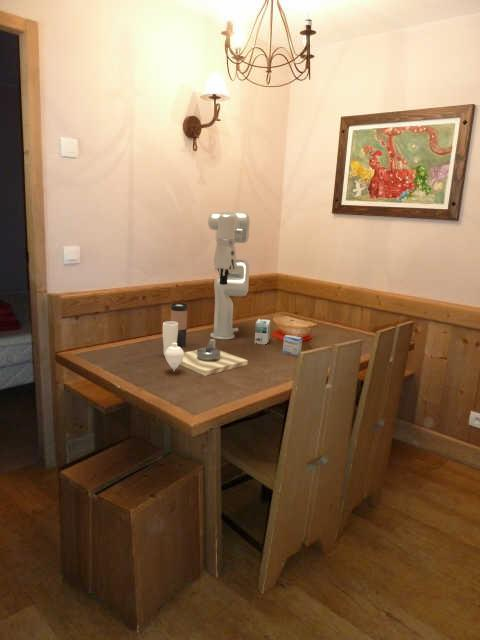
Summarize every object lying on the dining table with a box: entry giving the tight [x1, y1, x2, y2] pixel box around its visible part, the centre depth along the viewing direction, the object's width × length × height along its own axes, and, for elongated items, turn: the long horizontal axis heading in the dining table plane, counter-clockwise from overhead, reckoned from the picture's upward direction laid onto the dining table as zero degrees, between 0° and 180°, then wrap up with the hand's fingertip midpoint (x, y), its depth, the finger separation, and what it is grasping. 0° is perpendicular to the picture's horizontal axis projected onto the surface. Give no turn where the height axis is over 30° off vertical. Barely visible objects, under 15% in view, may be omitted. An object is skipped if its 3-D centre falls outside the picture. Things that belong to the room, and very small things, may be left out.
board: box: [179, 349, 248, 377], centre depth 200 cm, size 24×24×2 cm
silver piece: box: [196, 338, 221, 361], centre depth 204 cm, size 19×10×5 cm, turn 176°
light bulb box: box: [254, 318, 271, 345], centre depth 238 cm, size 11×7×11 cm, turn 171°
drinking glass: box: [162, 320, 178, 357], centre depth 205 cm, size 7×7×15 cm
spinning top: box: [164, 343, 185, 372], centre depth 185 cm, size 8×8×12 cm
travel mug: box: [170, 302, 188, 348], centre depth 221 cm, size 8×8×20 cm
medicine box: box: [282, 334, 303, 357], centre depth 219 cm, size 8×4×9 cm, turn 62°
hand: (223, 284), depth 209 cm, fingers closed
